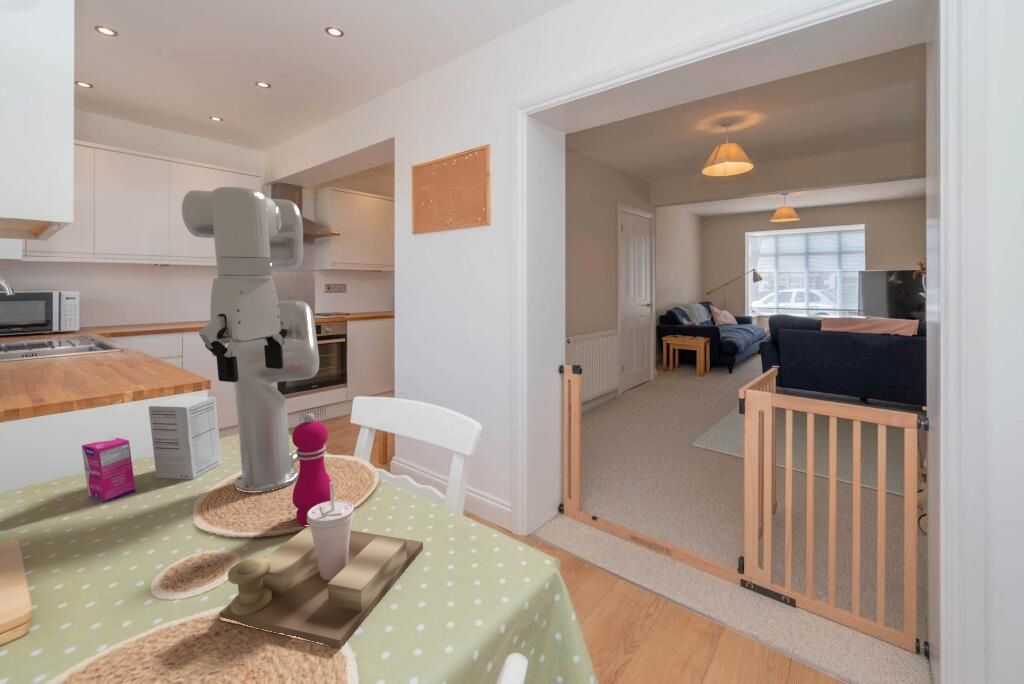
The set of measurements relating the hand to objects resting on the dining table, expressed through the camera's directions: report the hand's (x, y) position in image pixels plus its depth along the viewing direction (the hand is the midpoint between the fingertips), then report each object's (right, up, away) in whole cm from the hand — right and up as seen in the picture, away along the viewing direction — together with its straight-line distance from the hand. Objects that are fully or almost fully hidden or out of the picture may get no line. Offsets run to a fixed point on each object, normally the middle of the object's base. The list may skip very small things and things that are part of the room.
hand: (253, 374), depth 77 cm
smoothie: (+17, -29, -8) cm, 34 cm away
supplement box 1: (-40, -27, +20) cm, 52 cm away
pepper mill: (+6, -28, +10) cm, 30 cm away
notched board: (+17, -30, -8) cm, 35 cm away
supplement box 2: (-32, -25, +32) cm, 52 cm away
